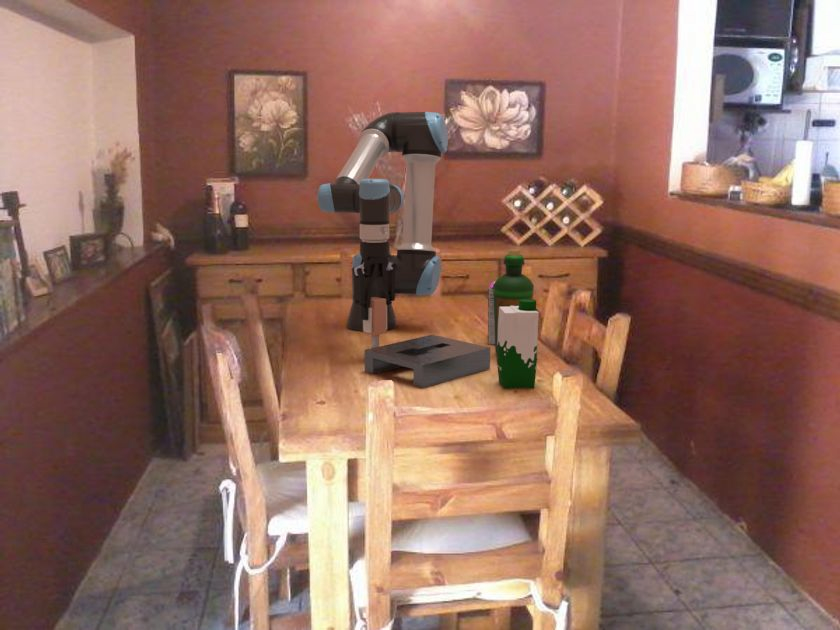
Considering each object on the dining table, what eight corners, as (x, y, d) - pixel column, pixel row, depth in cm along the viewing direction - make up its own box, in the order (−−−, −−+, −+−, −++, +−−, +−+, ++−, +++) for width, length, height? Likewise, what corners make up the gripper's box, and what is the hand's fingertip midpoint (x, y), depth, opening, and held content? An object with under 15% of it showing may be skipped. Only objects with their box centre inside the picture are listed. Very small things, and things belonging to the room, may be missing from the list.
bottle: (505, 361, 217) (508, 253, 211) (484, 352, 226) (486, 249, 221) (539, 357, 222) (543, 251, 216) (517, 348, 231) (519, 247, 225)
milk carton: (539, 389, 193) (542, 303, 189) (500, 390, 192) (502, 304, 188) (531, 378, 202) (533, 296, 198) (493, 379, 201) (495, 297, 197)
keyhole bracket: (364, 371, 207) (364, 349, 206) (432, 354, 224) (432, 334, 223) (422, 388, 193) (422, 365, 192) (489, 368, 210) (490, 347, 209)
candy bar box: (491, 335, 246) (492, 280, 242) (508, 336, 245) (509, 281, 242) (486, 344, 235) (487, 287, 232) (504, 345, 234) (505, 287, 231)
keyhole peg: (362, 359, 219) (361, 298, 216) (376, 356, 222) (375, 296, 219) (374, 362, 216) (374, 301, 212) (388, 359, 219) (388, 298, 216)
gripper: (358, 244, 204) (359, 338, 209) (409, 239, 216) (409, 327, 221) (338, 242, 209) (339, 333, 214) (389, 236, 221) (389, 323, 226)
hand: (375, 330), depth 217 cm, fingers open, 4 cm apart
